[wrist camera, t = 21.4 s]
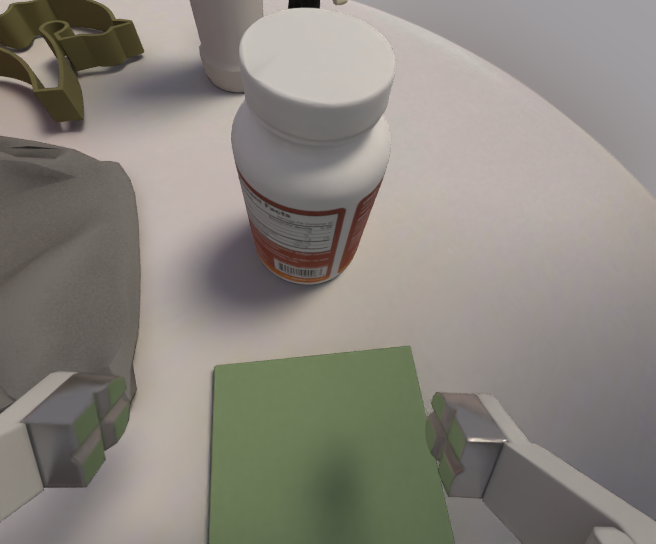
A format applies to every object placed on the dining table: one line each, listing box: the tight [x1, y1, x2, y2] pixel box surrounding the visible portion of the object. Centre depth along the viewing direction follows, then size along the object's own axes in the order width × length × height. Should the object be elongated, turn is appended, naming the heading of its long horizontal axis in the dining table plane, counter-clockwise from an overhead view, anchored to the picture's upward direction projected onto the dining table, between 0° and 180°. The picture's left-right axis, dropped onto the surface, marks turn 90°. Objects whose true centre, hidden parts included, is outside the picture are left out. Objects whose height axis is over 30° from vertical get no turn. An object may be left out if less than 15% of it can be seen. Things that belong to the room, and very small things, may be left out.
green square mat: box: [209, 346, 455, 544], centre depth 14 cm, size 10×10×1 cm
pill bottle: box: [231, 8, 396, 285], centre depth 14 cm, size 6×6×11 cm
